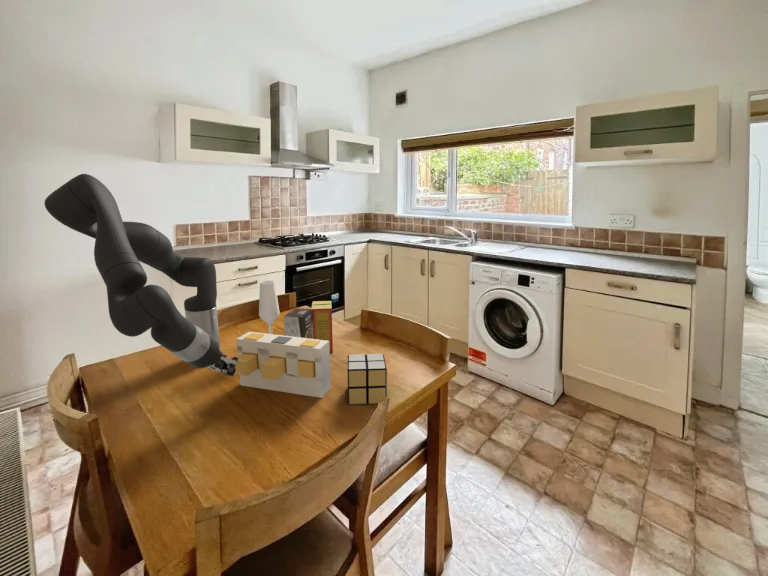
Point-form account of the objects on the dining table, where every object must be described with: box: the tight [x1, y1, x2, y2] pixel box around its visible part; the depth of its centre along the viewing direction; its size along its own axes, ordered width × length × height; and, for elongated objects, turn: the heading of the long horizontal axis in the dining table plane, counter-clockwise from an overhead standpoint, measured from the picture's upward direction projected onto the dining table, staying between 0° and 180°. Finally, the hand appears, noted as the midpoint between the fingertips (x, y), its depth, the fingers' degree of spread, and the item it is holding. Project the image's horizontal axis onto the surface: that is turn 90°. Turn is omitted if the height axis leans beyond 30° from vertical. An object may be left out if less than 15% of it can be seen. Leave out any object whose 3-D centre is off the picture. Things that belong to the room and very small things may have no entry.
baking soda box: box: [311, 300, 334, 354], centre depth 142 cm, size 10×6×16 cm
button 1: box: [234, 352, 259, 376], centre depth 112 cm, size 4×6×4 cm
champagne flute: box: [258, 280, 280, 334], centre depth 138 cm, size 7×7×24 cm
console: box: [236, 331, 331, 399], centre depth 114 cm, size 25×6×14 cm, turn 74°
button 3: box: [298, 360, 316, 378], centre depth 111 cm, size 4×6×4 cm
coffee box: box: [283, 307, 314, 339], centre depth 132 cm, size 9×6×16 cm
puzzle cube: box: [347, 353, 388, 406], centre depth 110 cm, size 10×10×10 cm
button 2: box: [261, 356, 287, 381], centre depth 109 cm, size 4×6×4 cm
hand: (232, 372), depth 106 cm, fingers closed
